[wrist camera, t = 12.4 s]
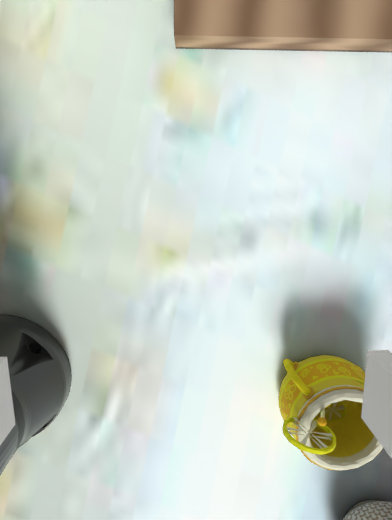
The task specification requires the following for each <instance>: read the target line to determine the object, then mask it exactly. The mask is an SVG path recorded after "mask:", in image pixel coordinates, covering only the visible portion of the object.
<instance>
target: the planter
mask: <svg viewBox="0 0 392 520" xmlns="http://www.w3.org/2000/svg"><path fill="white" fill-rule="evenodd" d="M343 520H392V502H387V501H379V500H365V501H362V502H359V503H357V504H356V505H354V506H353V507H352V508H351V509H350V510H349V511H348V512H347V514H346V516H345V517H344V519H343Z"/></svg>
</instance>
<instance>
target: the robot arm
mask: <svg viewBox="0 0 392 520" xmlns="http://www.w3.org/2000/svg"><path fill="white" fill-rule="evenodd" d="M70 387H71V370H70V365H69V362H68V359H67V356H66V354H65V352H64V350H63V349H62V347H61V346H60V344H59V343H58V342H57V340H56V339H55V338H54V337H53V336H52V335H51V334H50V333H49V332H47V331H46V330H45V329H43V328H42V327H40V326H39V325H37V324H35V323H33V322H31V321H29V320H26V319H23V318H20V317H16V316H10V315H0V475H1V473H2V472H3V470H4V469H5V467H6V465H7V464H8V462H9V461H10V459H11V458H12V456H13V455H14V453H15V452H16V450H17V449H18V448H19V447H20V446H22V445H23V444H24V443H26V442H27V441H28V440H29V439H30V438H31V437H33V436H35V435H36V434H38V433H40V432H41V431H42V430H44V429H45V428H46V427H47V426H49V425H50V424H51V422H52V421H53V420H54V419H55V418H56V416H57V415H58V413H59V412H60V410H61V409H62V407H63V405H64V403H65V402H66V400H67V397H68V395H69V391H70ZM361 418H362V419H363V421H364V422H365V423H366V425H367V426H368V428H369V429H370V430H371V432H372V433H373V434H374V436H375V437H376V439H377V440H378V441H379V443H380V444H381V445H382V447H383V448H384V449H385V451H386V452H387V454H388V455H389V456H390V458H391V459H392V353H391V352H390V351H388V350H381V351H367V361H366V372H365V382H364V393H363V403H362V414H361Z"/></svg>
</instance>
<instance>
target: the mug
mask: <svg viewBox="0 0 392 520" xmlns="http://www.w3.org/2000/svg"><path fill="white" fill-rule="evenodd" d="M283 364H284V367H285V369H286V371H287V374H286V376H285V378H284V379H283V381H282V384H281V387H280V391H279V408H280V411H281V415H282V417H283V419H284V424H283V433H284V435H285V437H286V438H287V439H288V441H289V442H290V443H292V444H293V445H294V446H296V447H297V448H298V449H300V450H301V452H302V453H303V454H304V456H305V457H306V458H307V459H308V460H309V461H310V462H313V463H314V464H316V465H318V466H320V467H322V468H326V469H328V470H340V471H342V470H349V469H354V468H358V467H360V466H362V465H364V464H366V463H368V462H370V461H371V460H373V459H374V458H375V457H376V456H377V455H378V454H379V453H380V452H381V450H382V449H383V447H382V445H381V444H380V443H379V441H378V440H377V439H376V437H375V436H374V434H373V433H372V432H371V430H370V429H369V428H368V426H367V425H366V423H365V422H364V421H363V419H362V418H361V414H362V403H363V393H364V382H365V372H364V371H363V370H362V368H360V367H359V366H357V365H354V364H353V363H352V362H350V361H348V360H345V359H343V358H341V357H337V356H331V355H320V356H315V357H310V358H307V359H305V360H302V361H300V362H296V361H295V362H292V361H291V360H289V359H285V360H283ZM286 425H287V426H286ZM288 430H290V432H289V431H288ZM290 434H292V435H293V437H294V438H295V439H294V438H293V437H292V436H291V435H290Z"/></svg>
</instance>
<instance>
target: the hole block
mask: <svg viewBox="0 0 392 520" xmlns="http://www.w3.org/2000/svg"><path fill="white" fill-rule="evenodd" d="M174 37H175V45H176V48H185V49H240V50H295V51H350V52H392V0H174Z"/></svg>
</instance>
